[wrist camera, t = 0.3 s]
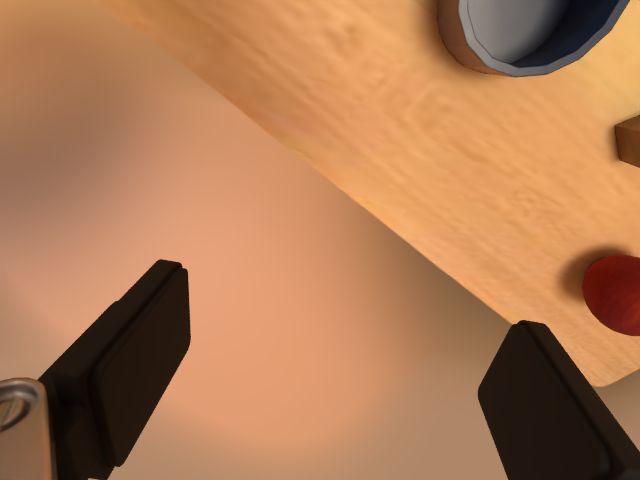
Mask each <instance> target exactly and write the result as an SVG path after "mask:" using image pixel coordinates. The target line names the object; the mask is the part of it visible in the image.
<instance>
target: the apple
mask: <svg viewBox="0 0 640 480" xmlns="http://www.w3.org/2000/svg"><path fill="white" fill-rule="evenodd" d="M582 290H583V296H584V299H585V302H586V304H587V306H588V308H589V309H590V311H591V312H592V314H593V315H594V316H595V317H596V318H597V319H598V320H599V321H600V322H601V323H602V324H603V325H605V326H606V327H608V328H610V329H611V330H613V331H616V332H618V333H621V334H625V335H630V336H640V258H638V257H633V256H627V255H612V256H607V257H604V258H602V259H599V260H598V261H596V262H595V263H593V264H592V265H591V266H590V267H589V269H588V270H587V272H586V274H585V276H584V278H583V285H582Z"/></svg>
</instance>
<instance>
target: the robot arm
mask: <svg viewBox="0 0 640 480" xmlns="http://www.w3.org/2000/svg"><path fill="white" fill-rule="evenodd" d="M189 312H190V310H189V288H188V271H187V269H185V268H182V264H181V263H179V262H174V261H167V260H162V259H161V260H158V261H156V263H155V264H154V265H153V266H152V267H151V268H150V269H149V270H148V271H147V272H146V273H145V274H144V275H143V276H142V277H141V278H140V279H139V280H138V281H137V282H136V283H135V284H134V285H133V286H132V287H131V288H130V289H129V290H128V292H126V293H125V295H124V296H123V297H122V298H121V299H120V300H119V301H115V302H114V303H113V304H112V305H110V306H109V307H108V308H107V309H106V311H104V312H103V314H102V315H101V316H100V317H99V318H98V319H97V320H96V321H95V322H94V323H93V324H92V325H91V326H90V327H89V328H88V329H87V330H86V331H85V332H84V333H83V334H82V335H81V336H80V337H79V338H78V339H77V340H76V341H75V342H74V343H73V344H72V345H71V346H70V347H69V348H68V349H67V350H66V351H65V352H64V353H63V354H62V355H61V356H60V357H59V358H58V359H57V360H56V361H55V362H54V363H53V365H51V366H50V367H49V368H48V369H47V370H46V372H44V374H43V375H42V376H41V377H40V378H39V379H38V380H35V379H31V378H12V379H7V380H3V381H0V480H88V478H92V479H98V480H107V479H108V477H109V476H110V474H111V472H112V471H113V469H114V467H115V466H117V467H120V466H121V465H122V464H123V463H124V462H125V460H126V459H127V457H128V455H129V453H130V452H131V450H132V448H133V446H134V445H135V443H136V441H137V439H138V438H139V436H140V434H141V432H142V431H143V429H144V427H145V425H146V423H147V422H148V420H149V418H150V416H151V415H152V413H153V411H154V409H155V408H156V406H157V404H158V402H159V400H160V399H161V397H162V395H163V393H164V392H165V390H166V388H167V386H168V384H169V383H170V381H171V379H172V377H173V376H174V374H175V372H176V370H177V368H178V367H179V365H180V363H181V361H182V360H183V358H184V356H185V354H186V353H187V351H188V348H189V345H190V340H191V336H190V335H191V334H190V313H189ZM478 399H479V402H480V405H481V408H482V411H483V413H484V416H485V419H486V421H487V424H488V427H489V429H490V432H491V435H492V437H493V440H494V443H495V445H496V448H497V451H498V453H499V456H500V459H501V461H502V464H503V467H504V470H505V472H506V475H507V478H508V480H640V452H639V450H638V449H637V448H636V446H635V445H634V443H633V442H632V441H631V439H630V438H629V437H628V435H627V434H626V433H625V431H624V430H623V428H622V427H621V426H620V424H619V423H618V422H617V420H616V419H615V418H614V416H613V415H612V414H611V412H610V411H609V409H608V408H607V407H606V405H605V404H604V403H603V401H602V400H601V399H600V397H599V396H598V394H597V393H596V392H595V391H594V389H593V388H592V386H591V385H590V384H589V382H588V381H587V380H586V378H585V377H584V375H583V374H582V373H581V371H580V370H579V369H578V367H577V366H576V365H575V363H574V362H573V360H572V359H571V358H570V356H569V355H568V354H567V352H566V351H565V350H564V348H563V347H562V346H561V344H560V343H559V341H558V340H557V339H556V337H555V336H554V335H553V333H552V332H551V331H550V329H549V328H548V327H547V326H546V325H545V324H543V323H538V322H532V321H526V320H521V321H519V322H518V323H517V324H513V325H512V326H511V328H510V329H509V331H508V333H507V335H506V337H505V339H504V341H503V343H502V344H501V347H500V348H499V350H498V352H497V354H496V356H495V358H494V360H493V361H492V363H491V365H490V367H489V369H488V371H487V373H486V375H485V377H484V378H483V380H482V382H481V384H480V386H479V388H478Z"/></svg>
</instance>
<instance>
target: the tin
mask: <svg viewBox="0 0 640 480" xmlns="http://www.w3.org/2000/svg"><path fill="white" fill-rule="evenodd" d="M629 1H630V0H438V3H437V20H438V27H439V31H440V35H441V37H442V40H443V42H444V44H445V46H446V48H447V49H448V51H449V52H450V53H451V55H452V56H453V57H454V58H455V59H456V60H457V61H458V62H460V63H461V64H462V65H463V66H466V67H468V68H470V69H473V70H476V71H479V72H482V73H485V74H493V75H500V76H508V77H526V76H538V75H546V74H549V73H551V72H554V71H556V70H558V69H560V68H562V67H564V66H566V65H568V64H571V63H573V62H575V61H577V60H579V59H580V58H581V57H583V56H584V55H585V54H586V53H587V52H588V51H589V50H590V49H591V48H592V47H594V46H595V45H596V44H597V43H598V42H599V41H600V40H601V39H602V38H603V37H605V36H606V35H607V34H608V33H609V32H610V31H611V30H612V28H613V27H614V25H615V24H616V22H617V20H618V19H619V17H620V16H621V14H622V12H623V11H624V9H625V8H626V6H627V4H628V3H629Z"/></svg>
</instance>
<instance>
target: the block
mask: <svg viewBox="0 0 640 480" xmlns="http://www.w3.org/2000/svg"><path fill="white" fill-rule="evenodd" d="M615 131H616V139H617V146H618V153H619V160H620V161H623V162H626V163H628V164H631V165H633V166H636V167H639V168H640V115H639V116H637V117H634V118H632V119H630V120H627V121H625V122H622V123H620V124H617V125H615Z"/></svg>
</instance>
